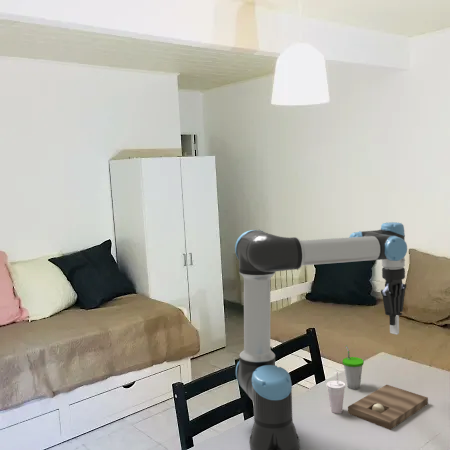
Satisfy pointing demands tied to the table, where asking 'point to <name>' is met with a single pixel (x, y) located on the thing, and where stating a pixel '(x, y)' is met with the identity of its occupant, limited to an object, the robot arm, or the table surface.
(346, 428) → the table surface
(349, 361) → the cup
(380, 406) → the ball
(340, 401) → the smoothie
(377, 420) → the brown wooden flat board
